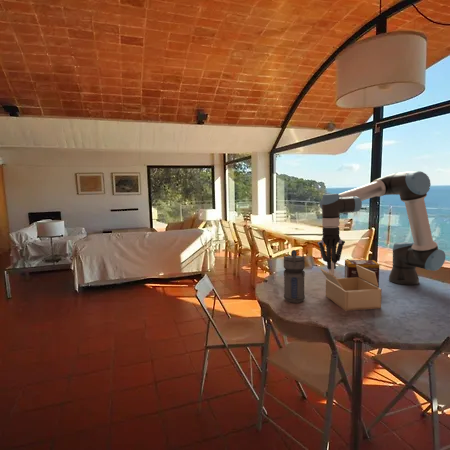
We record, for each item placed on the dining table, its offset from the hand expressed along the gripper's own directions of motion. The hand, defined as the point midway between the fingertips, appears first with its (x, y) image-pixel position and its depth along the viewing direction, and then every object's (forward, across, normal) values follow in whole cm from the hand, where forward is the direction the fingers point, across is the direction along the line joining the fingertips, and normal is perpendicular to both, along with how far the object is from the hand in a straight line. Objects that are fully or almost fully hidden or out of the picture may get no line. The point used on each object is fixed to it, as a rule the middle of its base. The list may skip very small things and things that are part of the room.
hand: (331, 275), depth 143 cm
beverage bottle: (+14, +16, -8) cm, 22 cm away
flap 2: (+5, -18, 0) cm, 19 cm away
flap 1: (+4, -2, 0) cm, 5 cm away
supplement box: (+15, -24, -16) cm, 32 cm away
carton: (+14, -10, 0) cm, 17 cm away
